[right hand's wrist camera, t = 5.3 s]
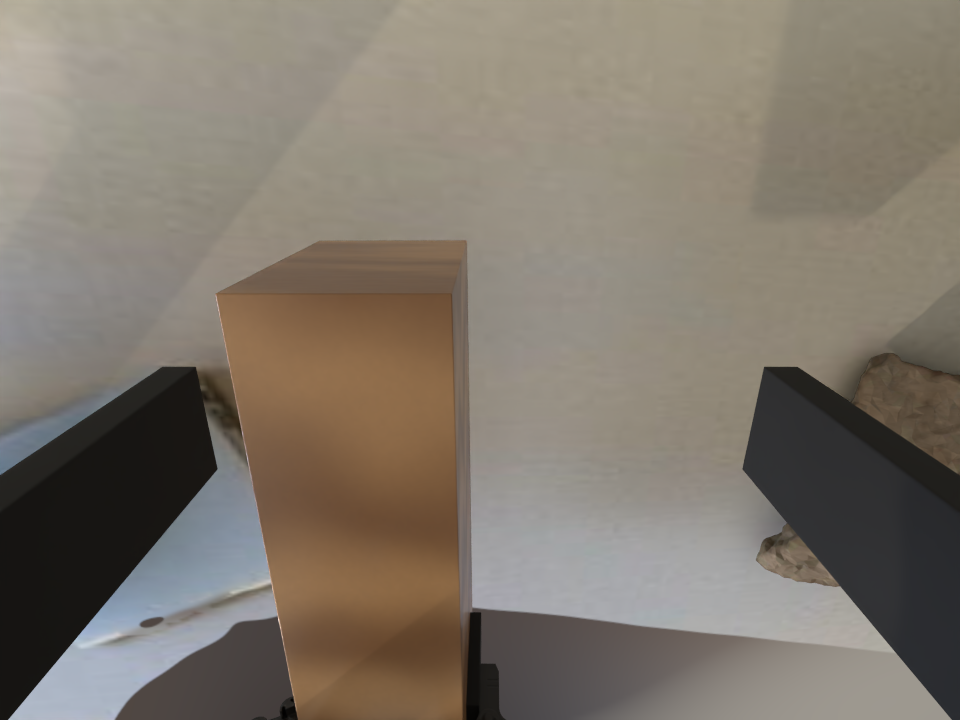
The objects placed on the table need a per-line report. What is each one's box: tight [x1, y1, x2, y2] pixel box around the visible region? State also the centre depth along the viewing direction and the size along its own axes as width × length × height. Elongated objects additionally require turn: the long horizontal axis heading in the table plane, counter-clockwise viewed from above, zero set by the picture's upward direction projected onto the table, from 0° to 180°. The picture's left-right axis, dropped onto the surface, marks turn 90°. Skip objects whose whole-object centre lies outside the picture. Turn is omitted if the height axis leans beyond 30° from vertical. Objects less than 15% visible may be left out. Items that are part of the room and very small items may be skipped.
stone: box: [756, 353, 960, 587], centre depth 43 cm, size 21×15×6 cm
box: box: [215, 240, 472, 720], centre depth 30 cm, size 30×8×12 cm, turn 0°
